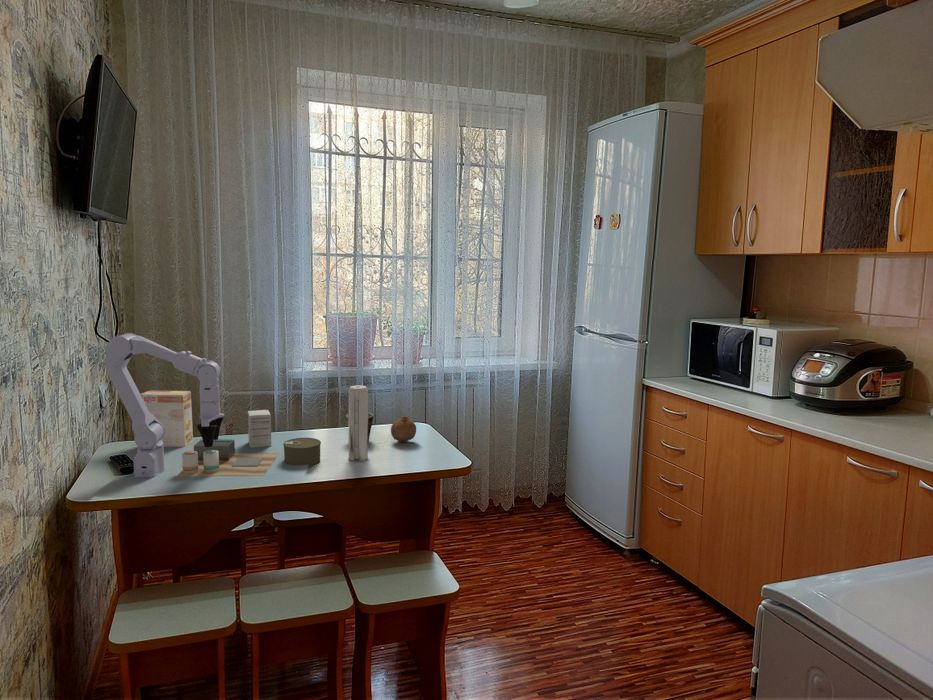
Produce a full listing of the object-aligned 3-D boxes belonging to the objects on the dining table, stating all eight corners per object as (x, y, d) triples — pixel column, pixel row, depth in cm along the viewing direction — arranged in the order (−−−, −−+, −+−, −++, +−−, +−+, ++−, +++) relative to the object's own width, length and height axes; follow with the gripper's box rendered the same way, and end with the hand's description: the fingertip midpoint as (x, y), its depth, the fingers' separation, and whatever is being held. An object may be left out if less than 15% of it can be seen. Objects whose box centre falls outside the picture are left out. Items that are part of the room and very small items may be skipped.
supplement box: (248, 444, 231) (247, 410, 230) (269, 443, 234) (268, 409, 232) (249, 450, 225) (248, 415, 223) (271, 448, 227) (271, 413, 226)
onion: (418, 445, 235) (418, 418, 234) (392, 446, 233) (393, 420, 231) (413, 438, 244) (413, 412, 243) (388, 439, 242) (389, 413, 240)
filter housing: (228, 460, 210) (228, 445, 209) (194, 460, 209) (193, 445, 208) (235, 453, 217) (234, 438, 217) (201, 453, 216) (201, 438, 216)
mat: (257, 466, 205) (257, 465, 205) (231, 466, 204) (231, 465, 204) (263, 458, 213) (263, 457, 213) (238, 458, 212) (238, 457, 212)
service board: (263, 478, 197) (263, 475, 196) (175, 479, 194) (175, 476, 194) (279, 455, 219) (279, 453, 219) (200, 456, 217) (200, 453, 217)
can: (317, 468, 208) (317, 448, 207) (279, 468, 207) (279, 447, 206) (323, 457, 219) (323, 437, 218) (288, 456, 219) (288, 437, 218)
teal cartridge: (216, 473, 198) (216, 453, 197) (201, 473, 198) (201, 453, 197) (221, 468, 202) (220, 449, 202) (206, 468, 202) (205, 449, 201)
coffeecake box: (193, 443, 231) (191, 390, 228) (184, 449, 224) (182, 394, 221) (152, 442, 231) (150, 389, 229) (142, 448, 224) (139, 393, 222)
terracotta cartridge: (195, 474, 196) (194, 454, 196) (180, 474, 196) (179, 454, 195) (200, 469, 201) (199, 450, 200) (185, 469, 201) (184, 450, 200)
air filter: (371, 457, 220) (371, 386, 216) (359, 462, 214) (359, 389, 211) (357, 454, 223) (357, 383, 219) (344, 459, 217) (344, 386, 214)
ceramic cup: (346, 438, 243) (346, 412, 241) (372, 437, 244) (373, 411, 243) (346, 448, 230) (346, 421, 229) (374, 447, 232) (374, 420, 230)
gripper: (218, 405, 192) (219, 449, 194) (228, 395, 206) (229, 436, 208) (193, 406, 191) (195, 450, 193) (205, 395, 205) (206, 437, 207)
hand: (211, 443), depth 200 cm, fingers open, 7 cm apart
